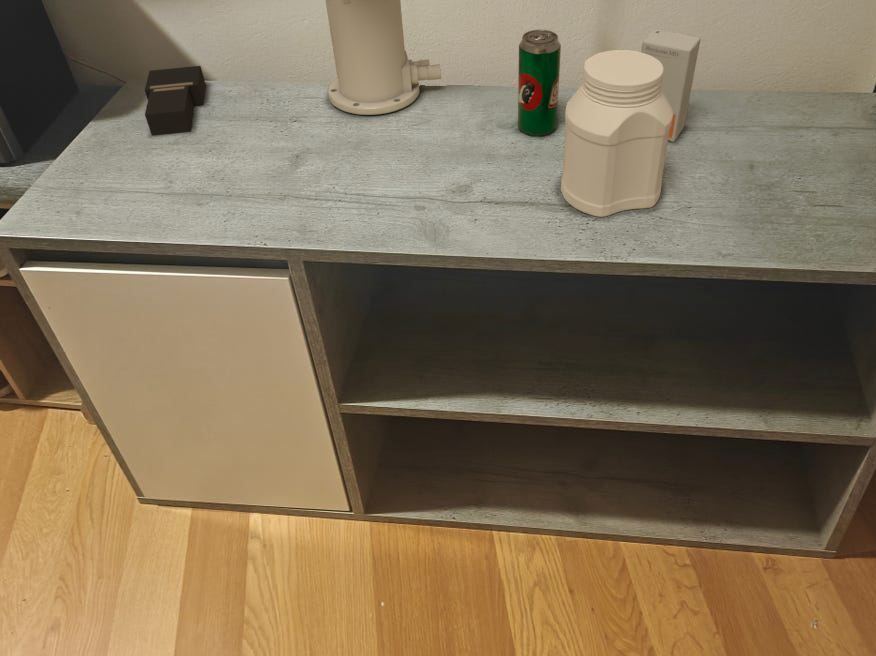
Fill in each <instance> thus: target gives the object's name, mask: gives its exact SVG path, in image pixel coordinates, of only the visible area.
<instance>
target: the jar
mask: <svg viewBox="0 0 876 656" xmlns="http://www.w3.org/2000/svg"><path fill="white" fill-rule="evenodd" d="M663 72H664V68H663V65H662V64H661V62H660V61H659V60H657V59H656V58H654V57H652V56H650V55H648V54H645V53H641V51H636V50H631V49H630V50H629V49H613V50H605V51H601V52H598V53H595V54H593V55H591V56H590V57H589V58H587V59H586V60H585V62H584V65H583V72H582V74H583V75H582V84H581V85H580V86H579V88H578V89H577V90H576V91H575V92H574V94H572V96H571V97H570V98H569V100H568V101H567V103H566V106H565V111H564V120H565V127H564V130H565V131H564V142H563V143H564V145H563V159H562V160H563V161H562V175H561V180H560V192H561V195H562V196H563V198H564V200H565V201H566V203H568V204H569V205H570V206H571V207H573V208H574V209H576V210H578V211H579V212H582V213H585V214H587V215H590V216H594V217H598V218H605V217H610V216H611V215H613V214H616V213H620V212H624V211H628V210H639V209H642V210H643V209H649V208H653V207H654V206H655V205H656V204H657V203H658V201H659V199H660V197H661V191H662V185H663V181H662V179H663V175H664V174H663V173H664V168H665V161H666V155H667V148H668V143H669V140H668V137H669V131H670V128H671V124H672V118H673V111H672V108H671V106H670V104H669V102H668V100H667V99H666V97H665V95H664V93H663V92H662V90H661V87H662V77H663Z"/></svg>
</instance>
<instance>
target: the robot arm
mask: <svg viewBox="0 0 876 656" xmlns="http://www.w3.org/2000/svg"><path fill="white" fill-rule="evenodd" d="M325 5H326V11H327V19H328V26H329V32H330V39H331V45H332V52H333V58H334V65H335V71H336V77H335V79H333V80H332V81H331V82H330V84H329V86H328V89H327V93H328V99H329V101H330V103H331V104H332V106H334V107H335V108H337V109H338V110H341V111H343V112H345V113H348V114H354V115H361V116H373V115H383V114H388V113H393V112H397V111H398V110H403V109H404V108H406V107H408V106H409V105H411V104H412V103H414V102H415V101H416V99H417V98H418V97H419V94H420V81H435V80H442V70H441V65H440V64H431V65H430V60H429V59H421V60H420V59H419V60H416V61H415V60H412V59H409V57H408V54H407V50H406V49H405V48H406V47H405V38H404V36H405V35H404V25H403V16H402V15H403V14H402V3H401V0H325Z"/></svg>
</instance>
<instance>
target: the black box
mask: <svg viewBox="0 0 876 656" xmlns="http://www.w3.org/2000/svg"><path fill="white" fill-rule="evenodd" d="M194 110H195V106H194V103H193V100H192V97H191V93H190V90H189V86H182V87H172V88H162V89H154V90H150V95H149V99H147V104H146V109H145V112H144V117H145V120H146V122H147V126H148V128H149V131H150V134H151V136H160V135H170V134H179V133H188V132H192V125H193V120H194V119H193V118H194V112H195V111H194Z"/></svg>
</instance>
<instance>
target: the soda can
mask: <svg viewBox="0 0 876 656" xmlns="http://www.w3.org/2000/svg"><path fill="white" fill-rule="evenodd" d="M561 50H562V45H561V43H560V41H559V36H558V34H557V33H556V32H554V31H553V30H552V31H551V30H548V29H533V30H529V31H526V32H525V33H523V34H522V36H521V41H520V43H519V45H518V75H517V76H518V80H517V81H518V86H517V89H518V90H517V126H518V129H520V130H521V131H522V132H523V133H524V134H526V135H529V136H533V137H542V136H546V135H549V134H550V133H553V131H554V130H555V129H556V128H557V126H558V110H559V109H558V107H559V92H560V91H559V90H560V69H561V53H562V51H561Z"/></svg>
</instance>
